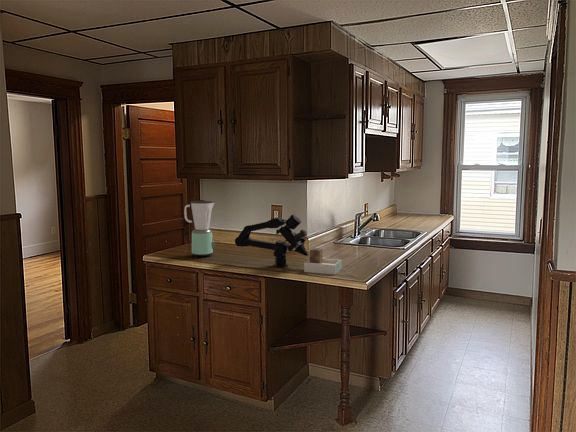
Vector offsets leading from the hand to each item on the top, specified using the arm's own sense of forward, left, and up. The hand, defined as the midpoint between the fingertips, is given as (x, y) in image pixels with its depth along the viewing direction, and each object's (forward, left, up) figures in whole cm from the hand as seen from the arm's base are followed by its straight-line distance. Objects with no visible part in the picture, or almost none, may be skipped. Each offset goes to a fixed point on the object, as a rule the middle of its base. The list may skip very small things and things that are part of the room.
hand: (307, 255), depth 271 cm
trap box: (+9, +4, -7) cm, 12 cm away
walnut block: (+4, +3, -4) cm, 6 cm away
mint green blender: (-65, -33, -7) cm, 73 cm away
